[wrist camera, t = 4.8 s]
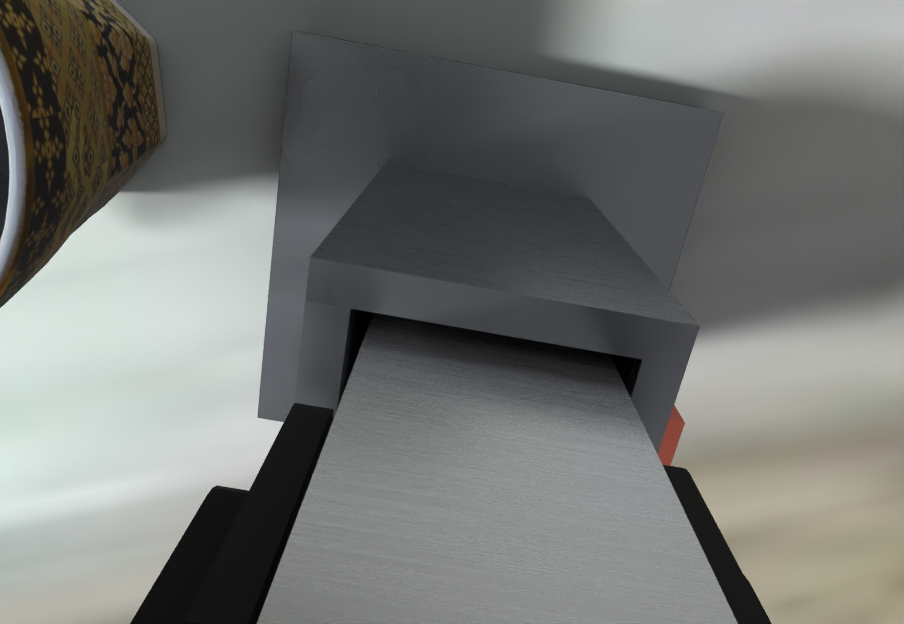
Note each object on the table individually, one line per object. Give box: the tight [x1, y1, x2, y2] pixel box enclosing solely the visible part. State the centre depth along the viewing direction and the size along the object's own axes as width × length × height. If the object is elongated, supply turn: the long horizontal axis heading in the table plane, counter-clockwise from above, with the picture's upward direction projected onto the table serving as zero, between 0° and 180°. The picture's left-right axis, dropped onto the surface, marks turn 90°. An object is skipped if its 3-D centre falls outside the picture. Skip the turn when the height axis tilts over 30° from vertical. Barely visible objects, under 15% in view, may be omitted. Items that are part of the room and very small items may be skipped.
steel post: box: [257, 313, 738, 624], centre depth 13 cm, size 4×4×16 cm
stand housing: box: [258, 31, 723, 466], centre depth 17 cm, size 12×12×12 cm
